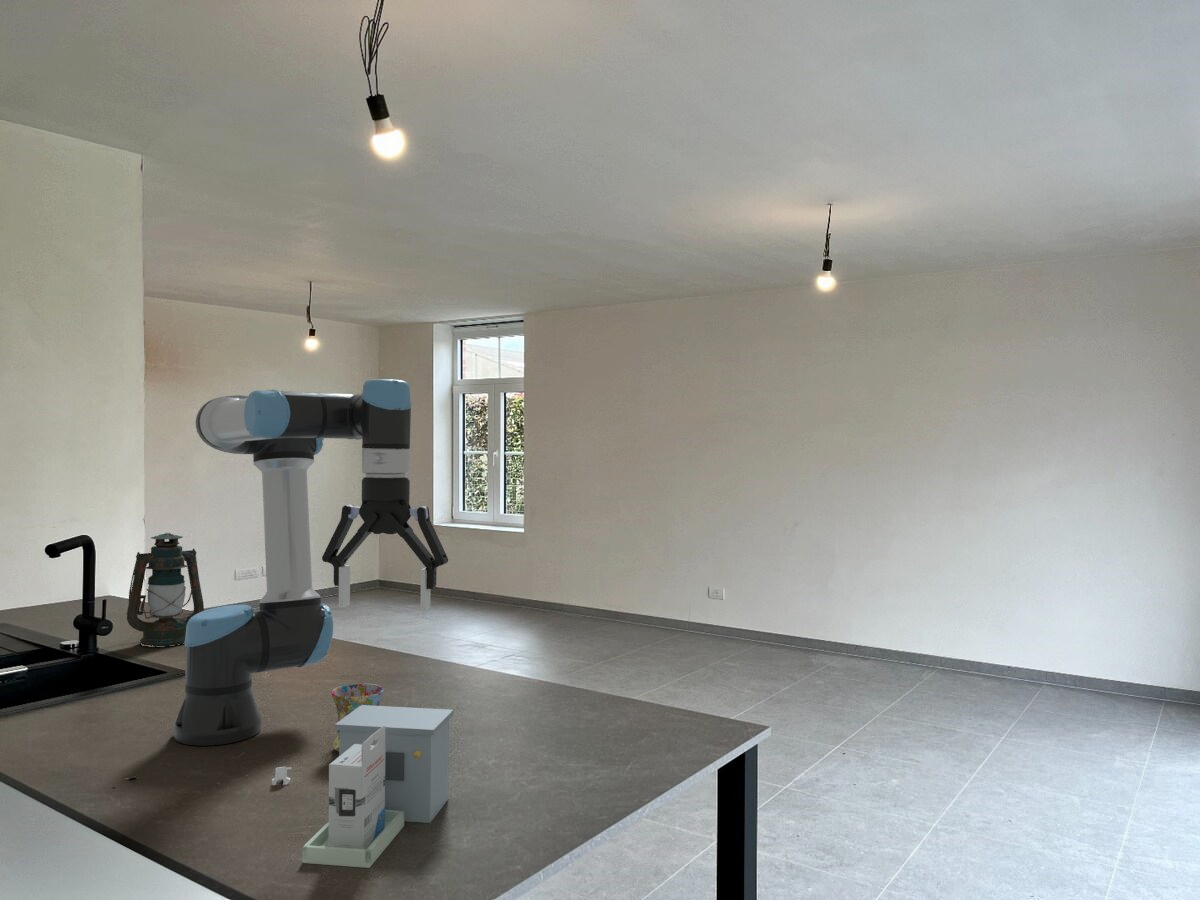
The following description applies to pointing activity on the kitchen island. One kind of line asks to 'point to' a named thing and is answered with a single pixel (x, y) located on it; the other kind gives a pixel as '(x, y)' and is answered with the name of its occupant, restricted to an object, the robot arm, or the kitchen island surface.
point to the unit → (406, 755)
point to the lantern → (164, 592)
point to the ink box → (357, 794)
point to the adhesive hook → (281, 775)
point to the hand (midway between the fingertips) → (384, 608)
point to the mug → (354, 700)
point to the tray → (322, 854)
